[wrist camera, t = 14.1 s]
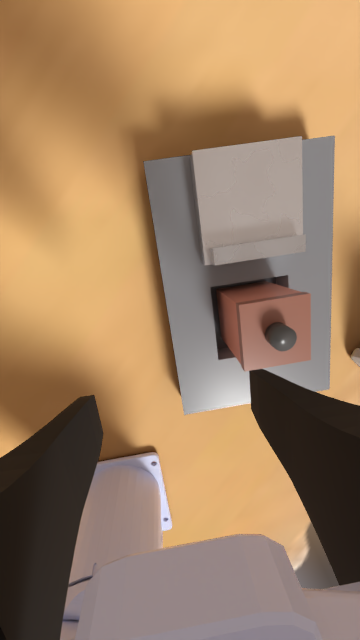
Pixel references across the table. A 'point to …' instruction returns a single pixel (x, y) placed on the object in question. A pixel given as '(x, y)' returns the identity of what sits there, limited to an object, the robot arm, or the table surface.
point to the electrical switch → (356, 356)
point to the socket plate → (239, 281)
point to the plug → (265, 324)
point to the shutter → (249, 200)
